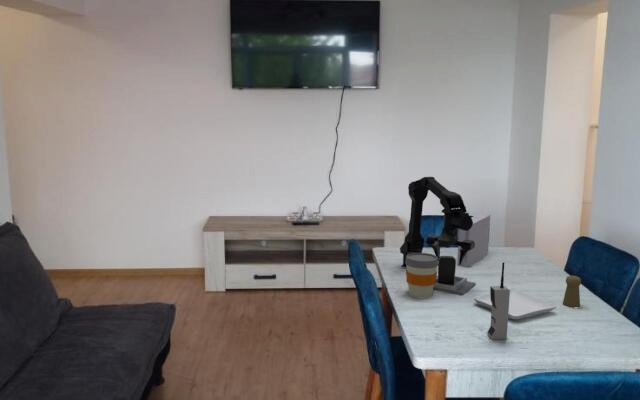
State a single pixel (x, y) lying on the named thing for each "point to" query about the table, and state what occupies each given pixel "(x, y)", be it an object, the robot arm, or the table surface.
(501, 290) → the vintage mobile phone
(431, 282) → the reusable coffee cup
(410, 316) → the table surface
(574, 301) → the cork
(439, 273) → the battery charger
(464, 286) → the charging dock
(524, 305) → the salad plate
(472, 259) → the game console
